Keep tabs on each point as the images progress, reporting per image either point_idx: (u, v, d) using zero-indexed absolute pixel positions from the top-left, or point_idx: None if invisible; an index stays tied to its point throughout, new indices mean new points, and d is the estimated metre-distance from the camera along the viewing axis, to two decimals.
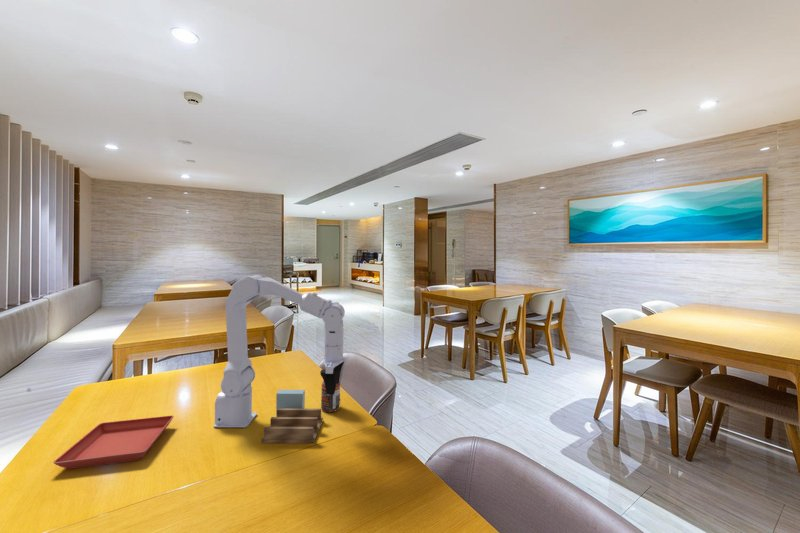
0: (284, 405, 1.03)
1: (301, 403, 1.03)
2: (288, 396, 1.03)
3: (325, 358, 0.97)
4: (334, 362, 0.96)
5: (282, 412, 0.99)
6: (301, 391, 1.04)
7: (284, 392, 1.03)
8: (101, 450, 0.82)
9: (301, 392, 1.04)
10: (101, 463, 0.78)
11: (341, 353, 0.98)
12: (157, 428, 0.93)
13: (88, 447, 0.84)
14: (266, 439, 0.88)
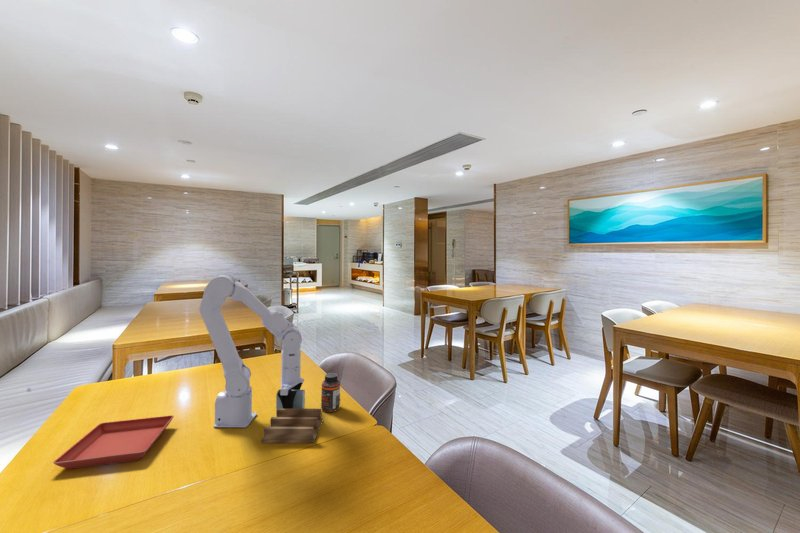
0: None
1: (301, 403, 1.03)
2: None
3: (282, 379, 1.02)
4: (290, 383, 1.01)
5: (282, 412, 0.99)
6: (301, 391, 1.04)
7: None
8: (101, 450, 0.82)
9: (301, 392, 1.04)
10: (101, 463, 0.78)
11: (298, 374, 1.03)
12: (157, 428, 0.93)
13: (88, 447, 0.84)
14: (266, 439, 0.88)
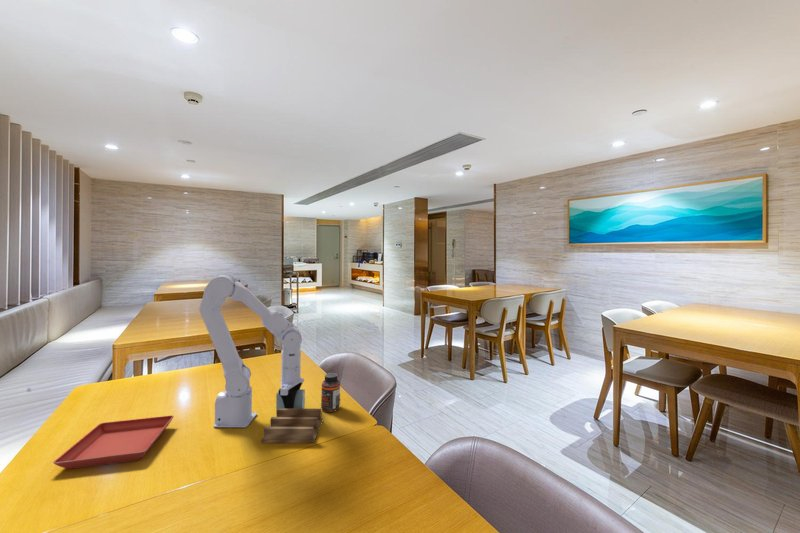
0: None
1: (301, 403, 1.03)
2: None
3: (282, 379, 1.02)
4: (290, 383, 1.01)
5: (282, 412, 0.99)
6: (301, 391, 1.04)
7: None
8: (101, 450, 0.82)
9: (301, 392, 1.04)
10: (101, 463, 0.78)
11: (298, 374, 1.03)
12: (157, 428, 0.93)
13: (88, 447, 0.84)
14: (266, 439, 0.88)
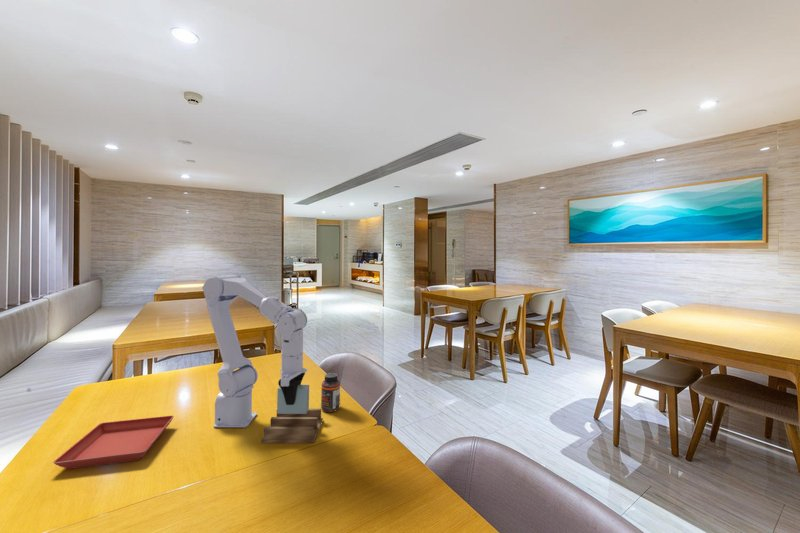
0: None
1: (305, 400, 0.92)
2: None
3: (282, 369, 0.91)
4: (292, 373, 0.90)
5: None
6: (305, 386, 0.93)
7: None
8: (101, 450, 0.82)
9: (305, 387, 0.93)
10: (101, 463, 0.78)
11: (300, 363, 0.92)
12: (157, 428, 0.93)
13: (88, 447, 0.84)
14: (266, 439, 0.88)
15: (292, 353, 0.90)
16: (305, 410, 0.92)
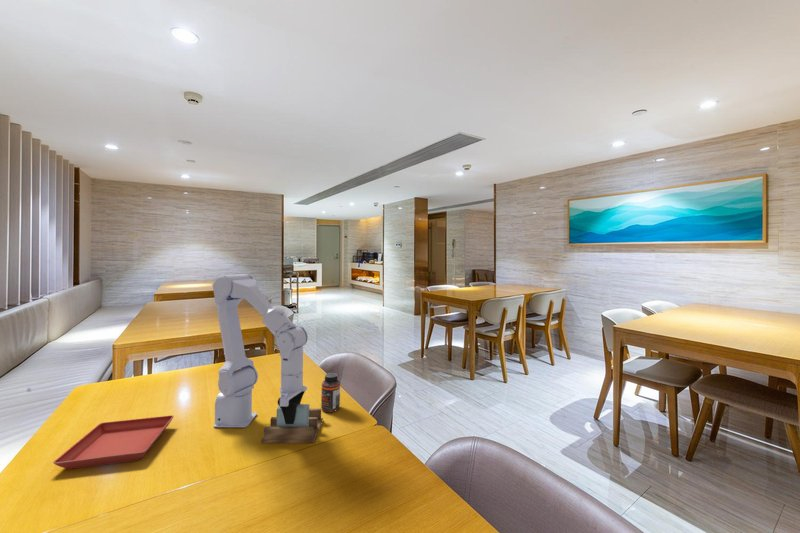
0: None
1: (305, 420, 0.90)
2: None
3: (282, 388, 0.89)
4: (291, 392, 0.88)
5: None
6: (305, 406, 0.92)
7: None
8: (101, 450, 0.82)
9: (305, 407, 0.91)
10: (101, 463, 0.78)
11: (300, 382, 0.90)
12: (157, 428, 0.93)
13: (88, 447, 0.84)
14: (266, 439, 0.88)
15: (291, 372, 0.88)
16: None
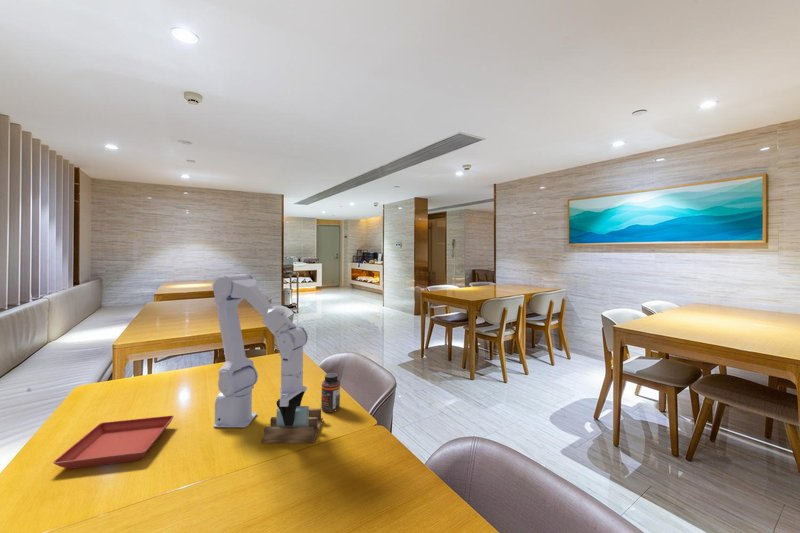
0: None
1: (305, 422, 0.90)
2: None
3: (282, 388, 0.89)
4: (291, 392, 0.88)
5: None
6: (305, 408, 0.92)
7: None
8: (101, 450, 0.82)
9: (305, 409, 0.91)
10: (101, 463, 0.78)
11: (300, 382, 0.90)
12: (157, 428, 0.93)
13: (88, 447, 0.84)
14: (266, 439, 0.88)
15: (291, 372, 0.88)
16: None
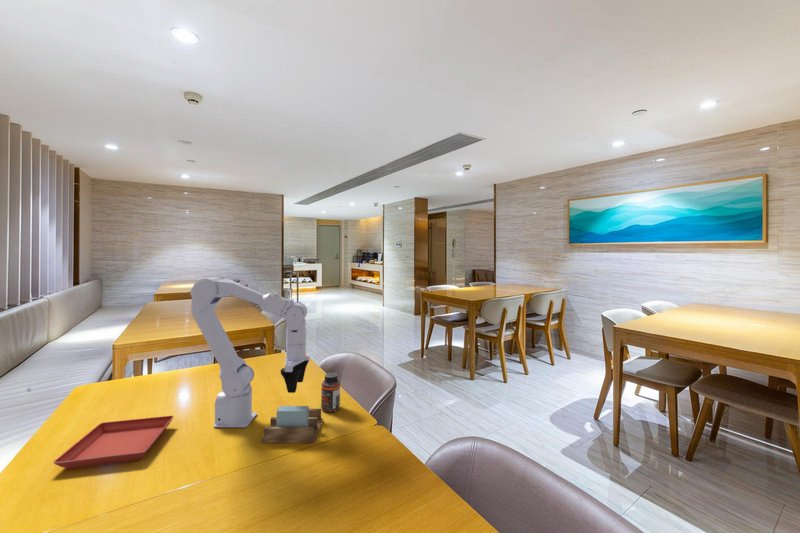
0: (285, 425, 0.90)
1: (305, 422, 0.90)
2: (290, 414, 0.90)
3: (287, 357, 0.98)
4: (295, 361, 0.97)
5: None
6: (305, 408, 0.92)
7: (285, 409, 0.91)
8: (101, 450, 0.83)
9: (305, 409, 0.91)
10: (101, 463, 0.78)
11: (303, 352, 0.99)
12: (157, 428, 0.93)
13: (88, 447, 0.84)
14: (266, 439, 0.88)
15: (300, 341, 0.98)
16: None
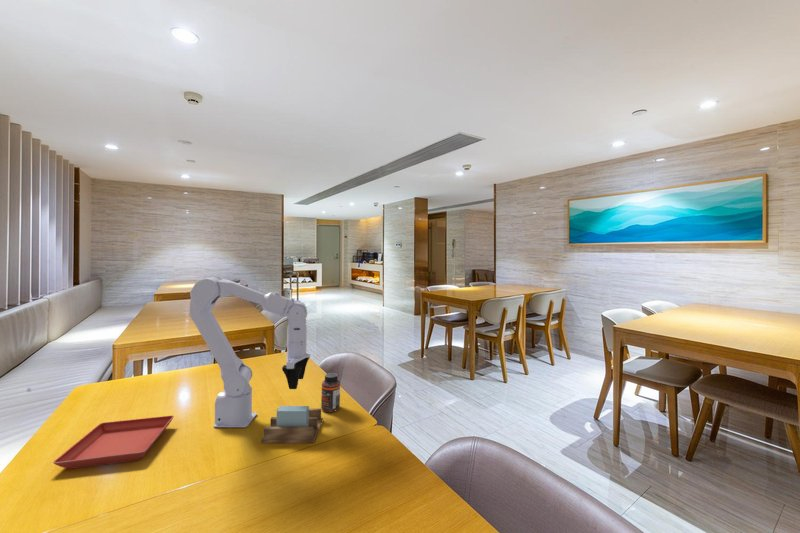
0: (285, 425, 0.90)
1: (305, 422, 0.90)
2: (290, 414, 0.90)
3: (288, 354, 1.01)
4: (296, 358, 1.00)
5: None
6: (305, 408, 0.92)
7: (285, 409, 0.91)
8: (101, 450, 0.83)
9: (305, 409, 0.91)
10: (101, 463, 0.78)
11: (304, 349, 1.02)
12: (157, 428, 0.93)
13: (88, 447, 0.84)
14: (266, 439, 0.88)
15: (302, 339, 1.01)
16: None
